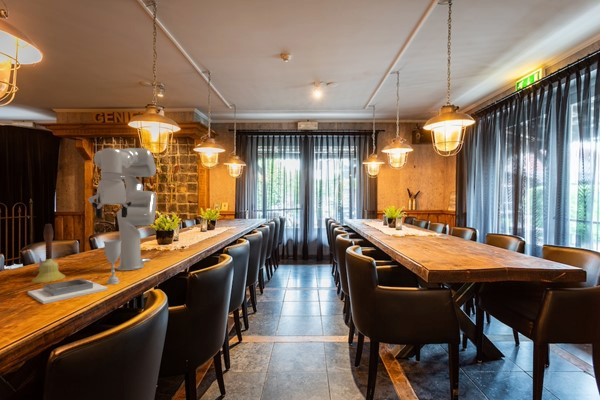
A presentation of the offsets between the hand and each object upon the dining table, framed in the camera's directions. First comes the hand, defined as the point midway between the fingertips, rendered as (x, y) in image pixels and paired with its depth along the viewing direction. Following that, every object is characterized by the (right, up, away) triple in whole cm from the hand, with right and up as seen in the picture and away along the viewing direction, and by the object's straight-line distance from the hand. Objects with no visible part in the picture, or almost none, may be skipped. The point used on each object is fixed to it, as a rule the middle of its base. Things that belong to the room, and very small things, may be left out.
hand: (112, 217), depth 133 cm
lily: (-46, -29, +21) cm, 58 cm away
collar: (-9, -28, -12) cm, 32 cm away
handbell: (-34, -29, +8) cm, 45 cm away
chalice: (0, -28, 0) cm, 28 cm away
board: (-9, -28, -12) cm, 32 cm away
